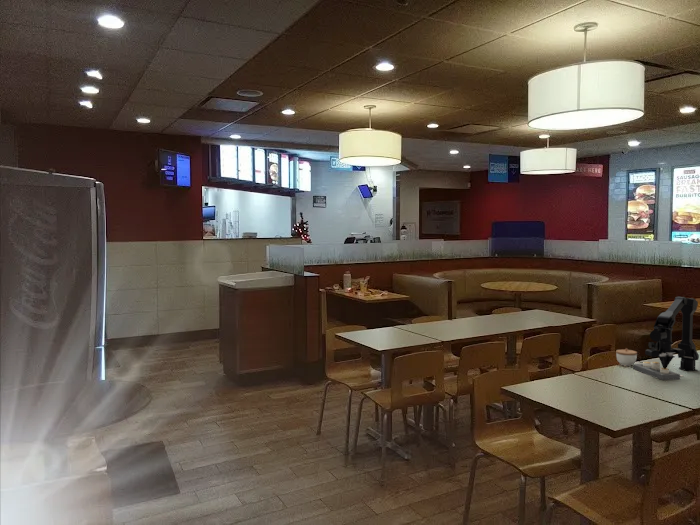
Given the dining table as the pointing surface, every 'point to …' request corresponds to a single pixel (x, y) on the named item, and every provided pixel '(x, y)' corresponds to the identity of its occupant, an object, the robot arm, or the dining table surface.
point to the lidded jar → (626, 357)
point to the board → (656, 372)
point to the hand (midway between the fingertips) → (664, 368)
